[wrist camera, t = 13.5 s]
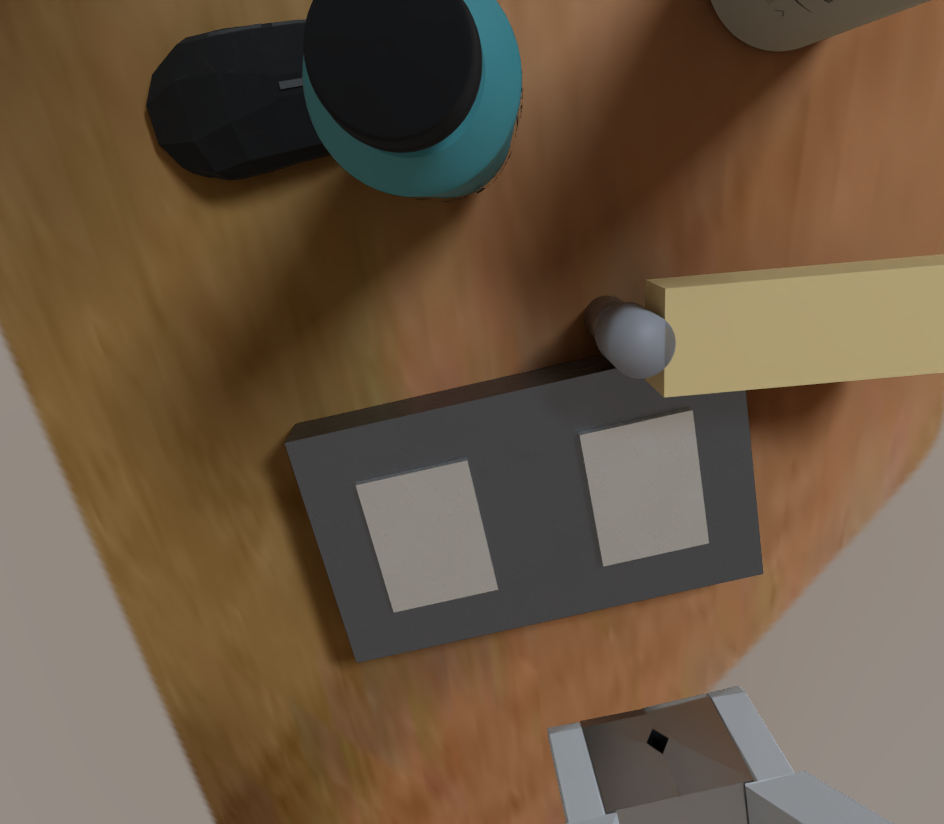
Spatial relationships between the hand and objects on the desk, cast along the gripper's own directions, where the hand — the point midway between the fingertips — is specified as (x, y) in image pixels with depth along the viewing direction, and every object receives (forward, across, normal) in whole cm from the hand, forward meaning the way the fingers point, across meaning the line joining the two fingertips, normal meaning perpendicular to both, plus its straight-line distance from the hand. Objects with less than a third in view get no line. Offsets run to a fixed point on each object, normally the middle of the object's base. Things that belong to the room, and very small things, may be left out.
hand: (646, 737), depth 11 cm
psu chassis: (+29, 0, +9) cm, 30 cm away
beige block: (+25, -13, +2) cm, 28 cm away
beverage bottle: (+29, 0, -10) cm, 31 cm away
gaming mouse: (+30, +6, -13) cm, 33 cm away
